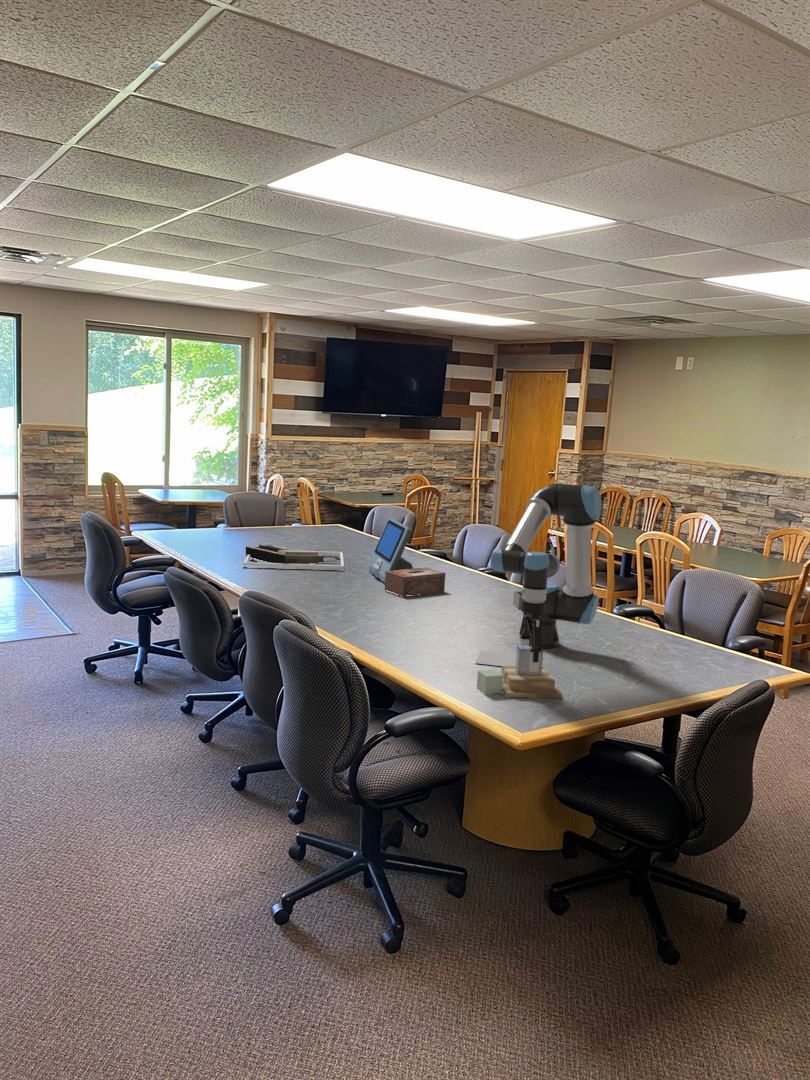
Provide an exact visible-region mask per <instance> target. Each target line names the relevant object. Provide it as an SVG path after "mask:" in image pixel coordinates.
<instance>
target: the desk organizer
mask: <svg viewBox="0 0 810 1080" xmlns="http://www.w3.org/2000/svg"><path fill="white" fill-rule="evenodd" d="M522 600H524V599H523V598H522V593H521V590H519V591H518V590H514V591H513V600H512V604H513V605H514V606H515V608H517V610H521V604H522Z"/></svg>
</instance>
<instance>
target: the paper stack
mask: <svg viewBox="0 0 810 1080" xmlns="http://www.w3.org/2000/svg"><path fill="white" fill-rule="evenodd" d="M475 664H482V665H489V666H495V667H496V666H497V667H498V666H499V667H502V666H516V653H509V652H502V651H491V650H485V649H484V650H483V649H481V650H480V651H479V653H478V657H477V659H476V660H475Z"/></svg>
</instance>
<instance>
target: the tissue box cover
mask: <svg viewBox="0 0 810 1080" xmlns="http://www.w3.org/2000/svg"><path fill="white" fill-rule="evenodd" d="M445 587H446V572H444V571H440V570H437V569H434V568H430V567H426V566H425V567H419V568H413V569H405V570H394V571H385V584H384V590H388V591H391V592H394V593H396V594H399V595H401V596H406V595H417V594H426V595H430V594H429V593H434V594H439V593H438V592H442V593H445V590H446V589H445Z"/></svg>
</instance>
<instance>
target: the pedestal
mask: <svg viewBox="0 0 810 1080" xmlns="http://www.w3.org/2000/svg"><path fill="white" fill-rule="evenodd" d="M515 666H516V665H515ZM515 666H501V674H502V675H503V685H502V692H503V693H502V694H503V695H505V696H504V698H509V697H528V698H527V699H562V697H563V693H562V692H561V691H560V690H559V689H558V687H557V686H556V680H555V679H554V678H553V677H552V676H551V675H550V673H549V672H548V671H547V670H546V668H545V667H544V666H542V674H541V675H517V673H516V671H515Z"/></svg>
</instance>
